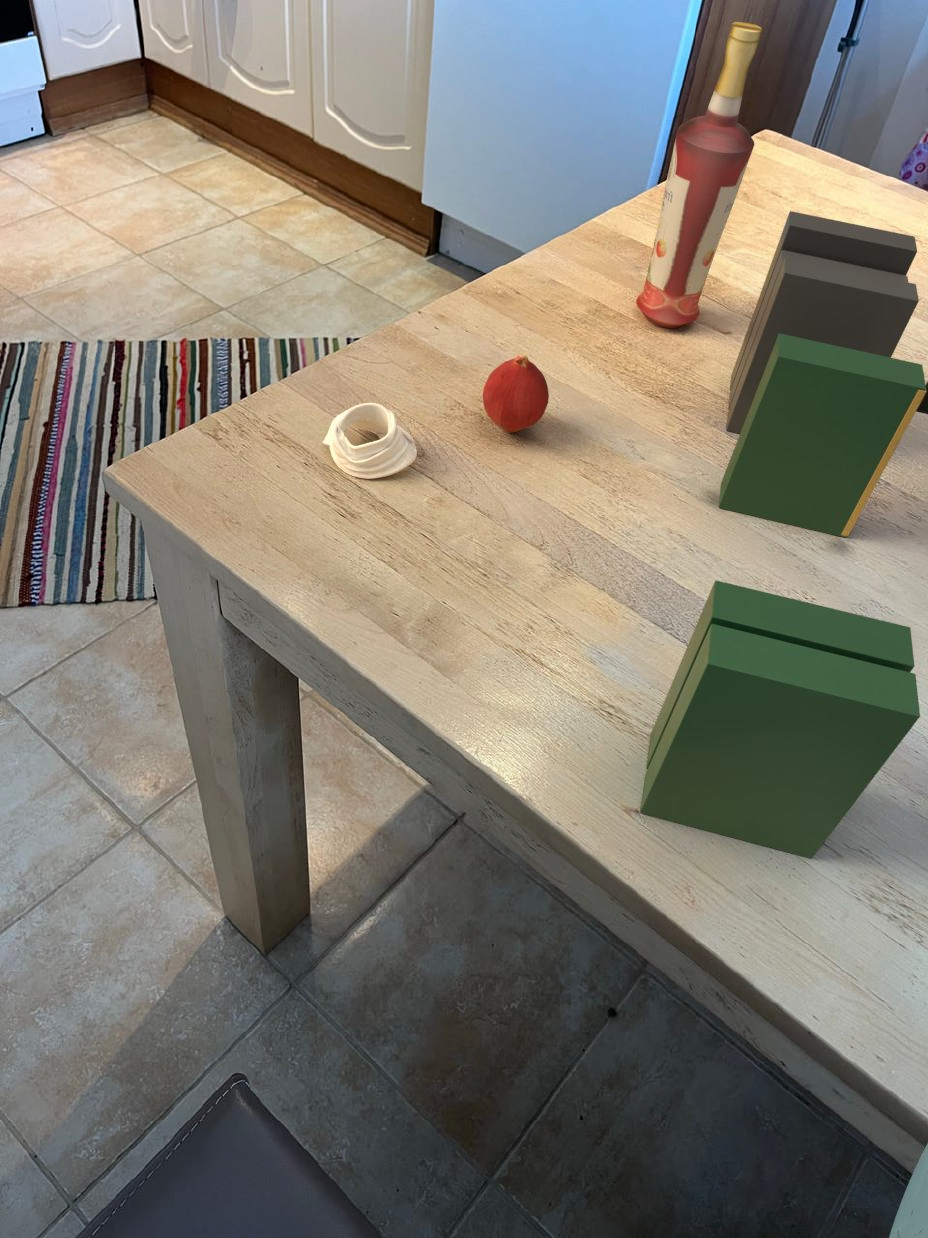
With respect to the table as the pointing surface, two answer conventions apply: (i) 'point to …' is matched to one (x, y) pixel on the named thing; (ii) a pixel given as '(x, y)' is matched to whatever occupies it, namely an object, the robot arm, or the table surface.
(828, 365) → the green book
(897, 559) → the table surface
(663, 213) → the liquor
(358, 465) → the white cowl scarf
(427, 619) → the table surface
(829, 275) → the grey books
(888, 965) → the table surface
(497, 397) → the onion
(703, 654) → the green books
